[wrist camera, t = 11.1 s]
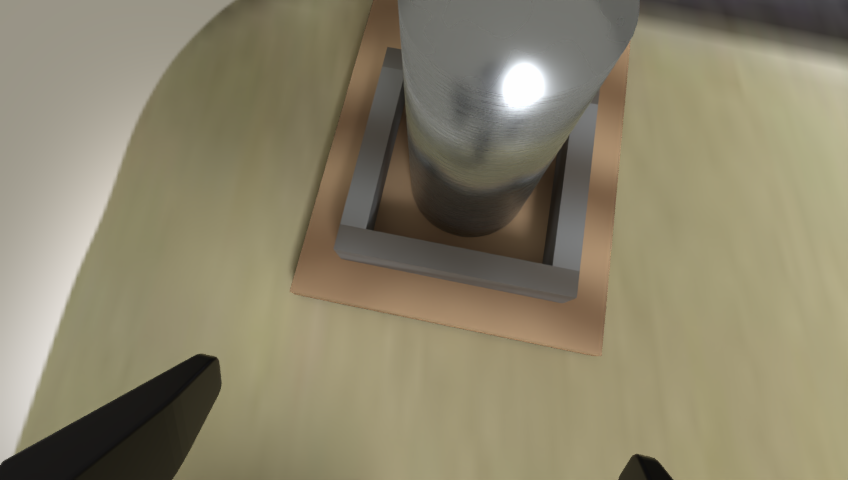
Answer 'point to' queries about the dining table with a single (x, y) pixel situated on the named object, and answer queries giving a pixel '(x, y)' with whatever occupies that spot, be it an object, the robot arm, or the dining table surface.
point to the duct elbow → (498, 97)
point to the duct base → (455, 255)
